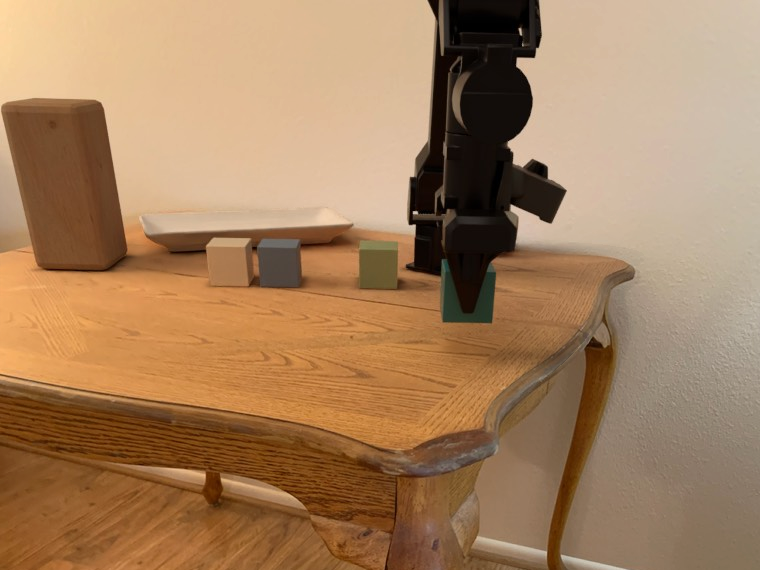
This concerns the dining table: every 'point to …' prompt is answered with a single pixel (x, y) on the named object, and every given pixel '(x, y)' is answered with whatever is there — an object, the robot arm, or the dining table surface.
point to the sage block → (378, 264)
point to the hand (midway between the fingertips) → (465, 305)
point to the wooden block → (66, 182)
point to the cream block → (230, 261)
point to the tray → (243, 226)
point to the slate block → (279, 262)
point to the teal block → (451, 303)
